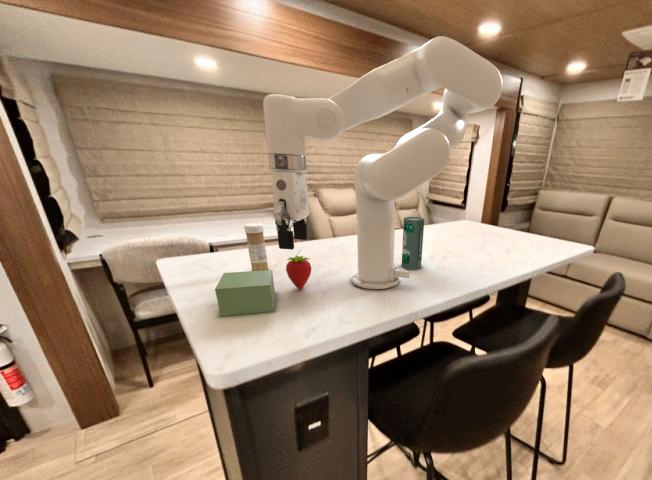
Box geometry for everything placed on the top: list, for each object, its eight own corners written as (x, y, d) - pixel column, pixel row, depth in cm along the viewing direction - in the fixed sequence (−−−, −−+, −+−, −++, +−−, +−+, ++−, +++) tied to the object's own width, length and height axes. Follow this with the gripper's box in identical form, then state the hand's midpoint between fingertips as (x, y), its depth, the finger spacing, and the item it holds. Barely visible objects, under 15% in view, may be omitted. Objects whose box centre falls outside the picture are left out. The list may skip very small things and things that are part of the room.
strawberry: (312, 283, 81) (309, 245, 77) (313, 293, 75) (310, 253, 71) (288, 284, 80) (284, 246, 76) (287, 295, 73) (283, 254, 69)
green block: (275, 293, 74) (272, 269, 72) (273, 311, 65) (270, 285, 63) (228, 297, 71) (223, 272, 69) (220, 316, 62) (214, 289, 60)
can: (402, 263, 101) (404, 216, 95) (421, 264, 101) (424, 217, 95) (400, 268, 96) (403, 219, 90) (420, 270, 95) (424, 220, 89)
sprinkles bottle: (266, 268, 90) (259, 222, 85) (271, 273, 87) (265, 225, 82) (249, 271, 88) (241, 223, 82) (254, 276, 84) (246, 226, 79)
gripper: (291, 165, 58) (298, 254, 65) (316, 165, 74) (319, 237, 80) (251, 162, 58) (262, 252, 65) (285, 163, 74) (291, 235, 80)
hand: (294, 243), depth 72 cm, fingers open, 9 cm apart
